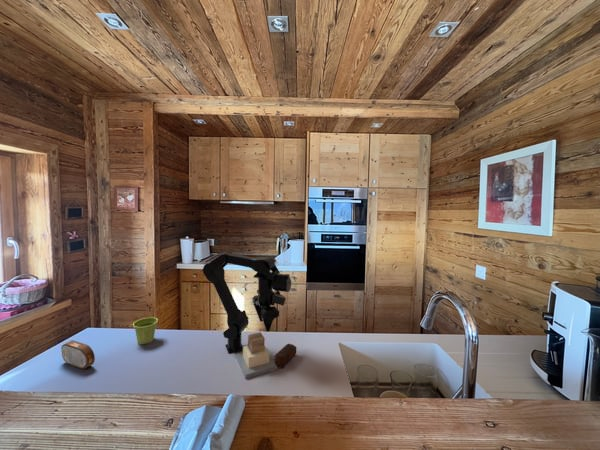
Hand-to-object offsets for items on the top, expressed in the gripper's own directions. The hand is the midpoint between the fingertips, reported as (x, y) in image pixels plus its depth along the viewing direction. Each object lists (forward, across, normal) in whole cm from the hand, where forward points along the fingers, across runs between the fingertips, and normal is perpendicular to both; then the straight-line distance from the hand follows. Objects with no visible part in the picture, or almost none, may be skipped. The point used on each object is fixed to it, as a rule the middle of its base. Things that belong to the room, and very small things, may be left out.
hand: (264, 326), depth 102 cm
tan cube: (+6, -4, +5) cm, 9 cm away
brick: (+12, -7, -7) cm, 16 cm away
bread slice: (+12, +19, +66) cm, 70 cm away
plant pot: (+12, +29, +46) cm, 56 cm away
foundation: (+12, -4, +5) cm, 14 cm away
